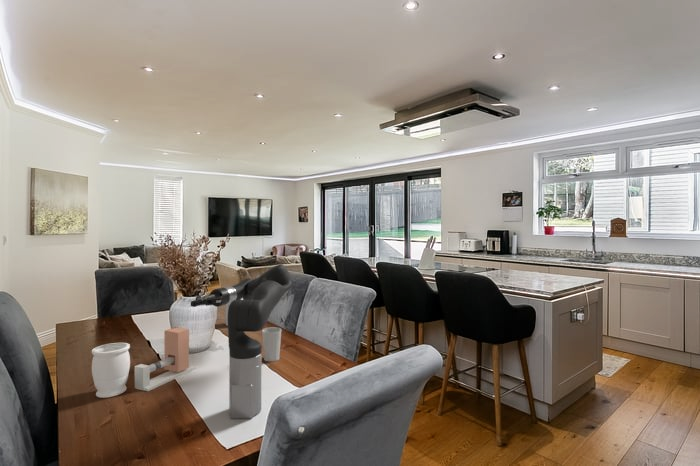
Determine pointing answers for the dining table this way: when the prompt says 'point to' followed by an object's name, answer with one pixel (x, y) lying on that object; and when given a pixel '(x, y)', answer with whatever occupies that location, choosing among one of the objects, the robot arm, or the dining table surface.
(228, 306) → the supplement tub
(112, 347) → the jar
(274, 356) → the cup
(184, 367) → the salmon pink rectangular block
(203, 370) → the dining table surface
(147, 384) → the pipe stand
